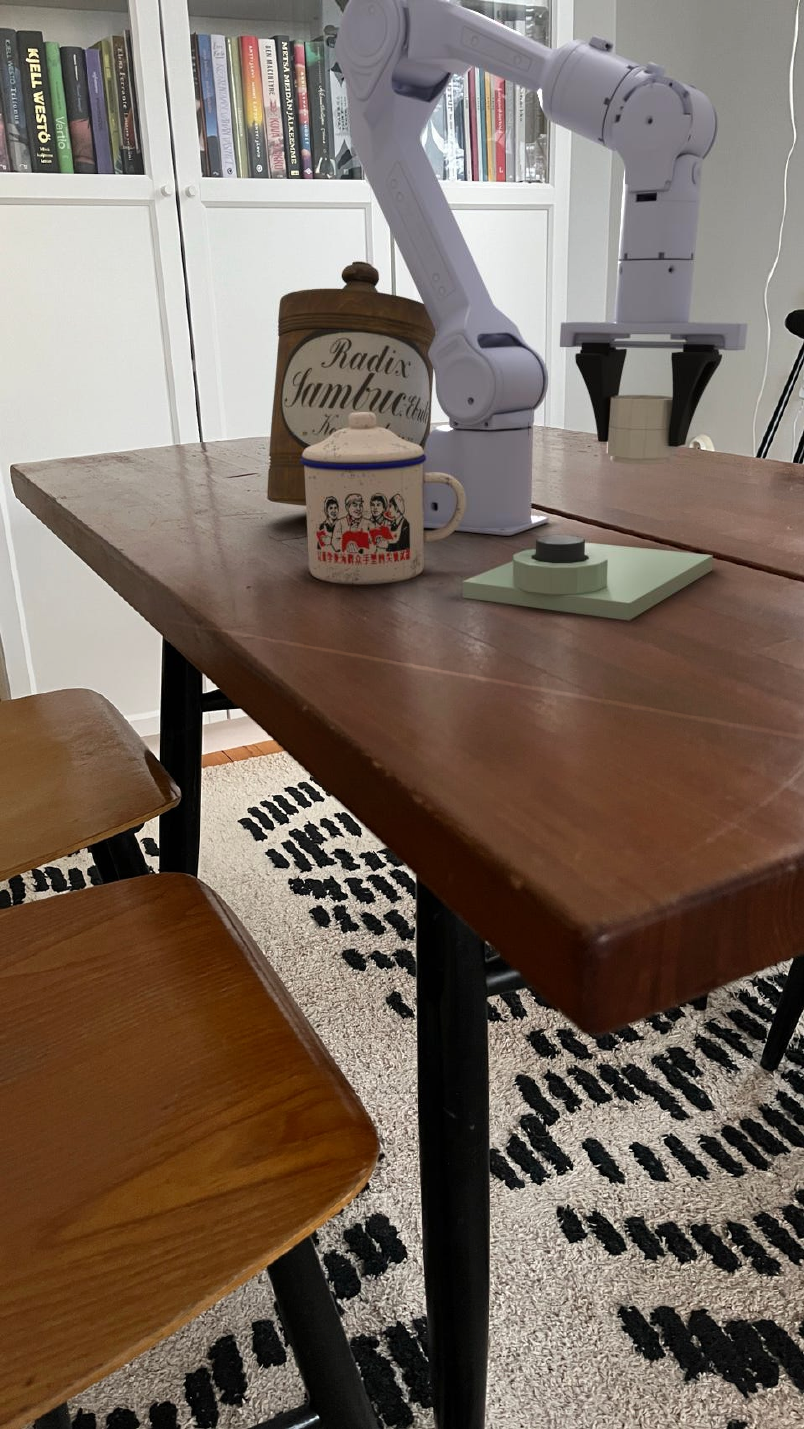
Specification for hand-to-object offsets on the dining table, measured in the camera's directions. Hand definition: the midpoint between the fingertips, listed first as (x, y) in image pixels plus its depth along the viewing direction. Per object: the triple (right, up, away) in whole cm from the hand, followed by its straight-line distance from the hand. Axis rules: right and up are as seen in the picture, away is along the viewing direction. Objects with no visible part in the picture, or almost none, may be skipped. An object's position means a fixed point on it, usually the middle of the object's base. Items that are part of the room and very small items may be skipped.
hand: (641, 443), depth 86 cm
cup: (0, -1, +1) cm, 1 cm away
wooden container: (-25, -3, +14) cm, 29 cm away
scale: (-6, -13, -11) cm, 18 cm away
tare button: (-9, -12, -16) cm, 22 cm away
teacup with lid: (-21, -12, -6) cm, 24 cm away
